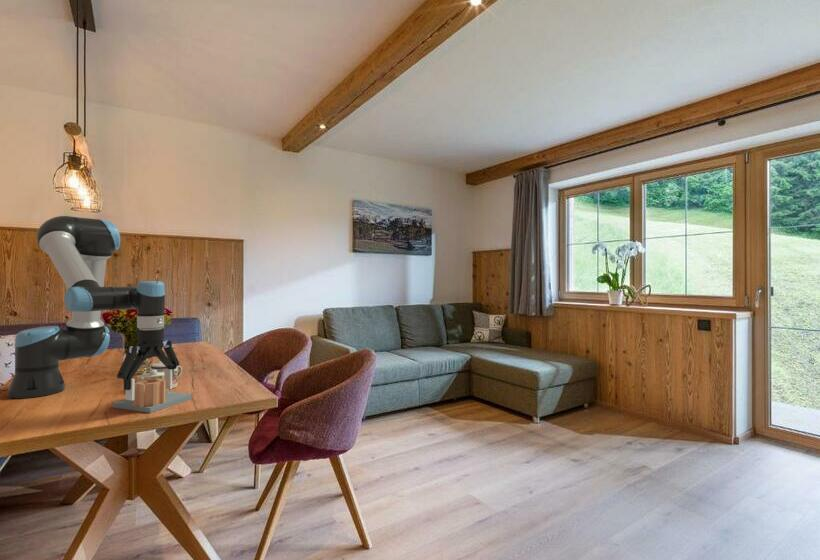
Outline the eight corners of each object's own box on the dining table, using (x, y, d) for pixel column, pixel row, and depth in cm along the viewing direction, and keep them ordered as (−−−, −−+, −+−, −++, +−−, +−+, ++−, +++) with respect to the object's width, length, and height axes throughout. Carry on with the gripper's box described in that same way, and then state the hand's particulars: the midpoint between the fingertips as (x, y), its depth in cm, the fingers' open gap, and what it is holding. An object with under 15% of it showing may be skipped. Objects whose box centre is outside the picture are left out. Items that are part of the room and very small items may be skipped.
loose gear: (126, 405, 128) (126, 383, 128) (151, 397, 136) (151, 377, 136) (147, 408, 125) (147, 385, 125) (171, 400, 134) (172, 379, 134)
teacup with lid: (162, 391, 148) (162, 360, 148) (144, 389, 151) (144, 358, 151) (189, 384, 160) (190, 354, 159) (172, 381, 163) (173, 352, 163)
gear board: (111, 407, 130) (111, 376, 130) (155, 393, 145) (156, 366, 145) (150, 413, 125) (150, 381, 125) (192, 398, 141) (192, 370, 141)
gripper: (121, 334, 117) (120, 406, 118) (191, 325, 141) (190, 385, 141) (103, 332, 120) (102, 403, 120) (174, 324, 144) (173, 383, 144)
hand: (150, 393), depth 131 cm, fingers open, 13 cm apart
